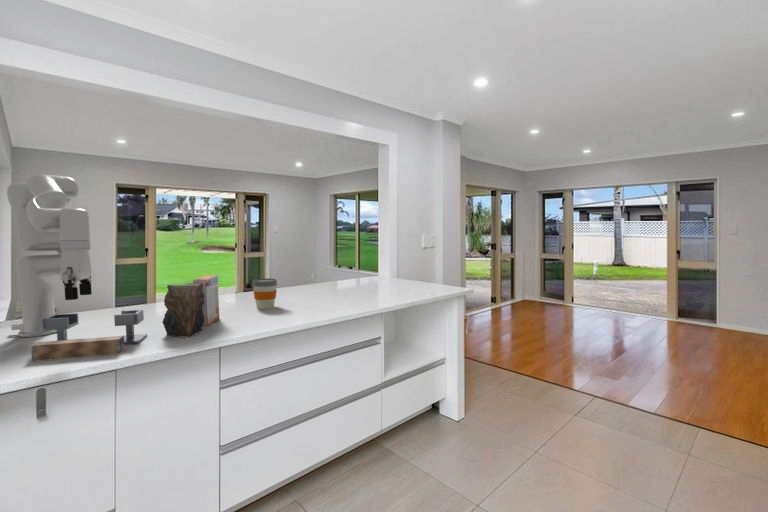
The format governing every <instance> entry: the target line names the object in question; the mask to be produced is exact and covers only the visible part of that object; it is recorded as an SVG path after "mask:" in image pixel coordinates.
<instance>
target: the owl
mask: <svg viewBox="0 0 768 512" xmlns="http://www.w3.org/2000/svg"><path fill="white" fill-rule="evenodd" d="M202 289H203V285H202V283H200V284H194V283H193V282H192V283H191V282H188V283H184V284H167V292H166V294H165V295H164V299H163V302H164V304H163V305H164V306H165V308H166V309H167V310H166V312H165V313H164V317H163V319H162V324H163V328H164V330H165V332H166V336H168V335H169V337H170V336H171V337H180V336H182V337H181V338H191V337H193V336H194V334H195V333H196V334H198V333H199V332H201V331H203V329H202V328H203V327H204V326H203V323H204V315H203V311H202V306H203V304H204V293H203V291H202ZM197 332H198V333H197ZM196 334H195V335H196ZM192 335H193V336H192ZM183 336H185V337H183ZM190 336H191V337H190Z"/></svg>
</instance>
